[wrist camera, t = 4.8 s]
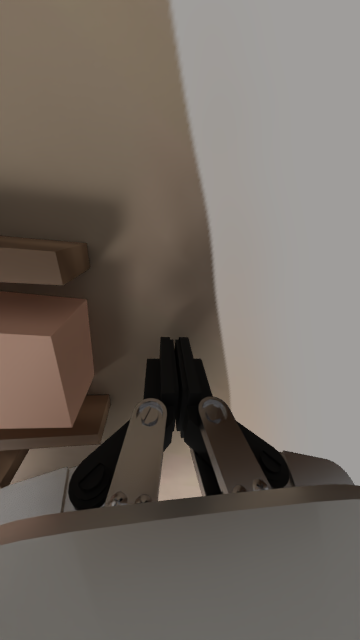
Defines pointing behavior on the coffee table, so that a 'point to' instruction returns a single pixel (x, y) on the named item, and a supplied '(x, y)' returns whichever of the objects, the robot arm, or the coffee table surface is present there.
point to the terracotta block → (43, 360)
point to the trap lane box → (13, 444)
